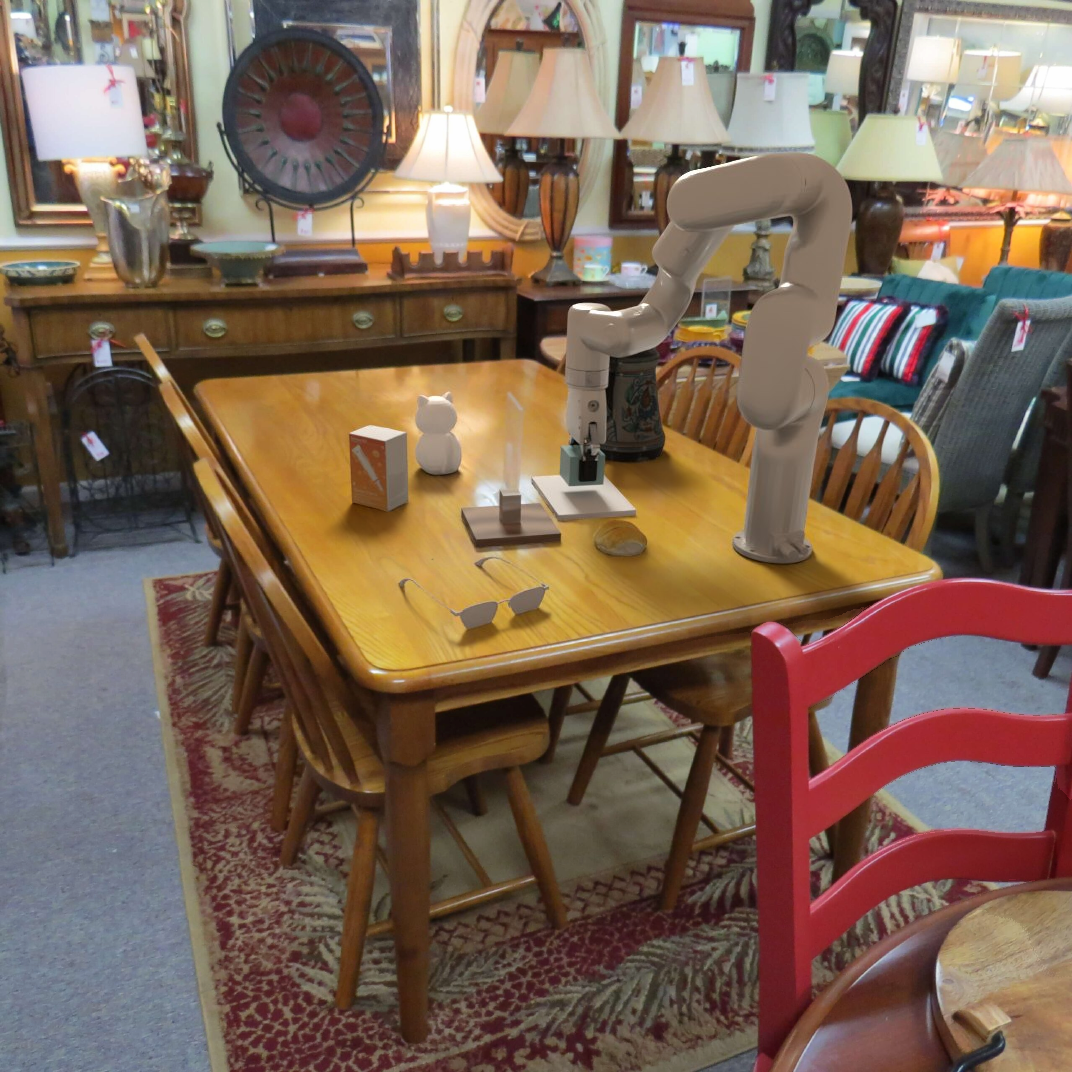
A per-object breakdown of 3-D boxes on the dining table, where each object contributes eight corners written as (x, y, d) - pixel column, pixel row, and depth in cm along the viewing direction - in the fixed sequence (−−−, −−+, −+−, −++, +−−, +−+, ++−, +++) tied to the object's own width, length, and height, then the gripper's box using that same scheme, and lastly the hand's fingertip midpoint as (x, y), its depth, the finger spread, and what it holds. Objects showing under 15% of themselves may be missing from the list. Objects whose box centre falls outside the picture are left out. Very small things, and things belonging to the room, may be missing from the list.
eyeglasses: (456, 637, 130) (456, 610, 129) (392, 587, 144) (391, 562, 142) (549, 608, 139) (550, 583, 137) (481, 563, 152) (481, 540, 151)
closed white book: (635, 515, 171) (636, 509, 171) (558, 520, 168) (558, 515, 168) (601, 477, 189) (602, 472, 189) (531, 481, 186) (531, 476, 186)
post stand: (560, 541, 160) (562, 504, 157) (476, 548, 157) (476, 510, 154) (540, 510, 172) (541, 475, 170) (461, 516, 169) (461, 480, 167)
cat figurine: (449, 459, 198) (447, 386, 192) (475, 477, 187) (474, 400, 182) (407, 465, 194) (404, 390, 188) (431, 484, 183) (429, 405, 178)
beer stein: (669, 443, 211) (679, 327, 201) (654, 472, 193) (664, 345, 184) (594, 436, 215) (600, 321, 205) (573, 462, 197) (578, 338, 188)
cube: (603, 484, 175) (605, 455, 173) (568, 486, 174) (570, 456, 172) (593, 472, 181) (594, 444, 179) (559, 474, 180) (560, 445, 177)
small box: (351, 503, 173) (347, 432, 168) (373, 493, 179) (370, 423, 173) (387, 512, 170) (385, 440, 165) (409, 501, 175) (407, 431, 170)
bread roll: (633, 534, 164) (635, 512, 163) (652, 555, 156) (654, 532, 155) (586, 537, 162) (587, 515, 161) (602, 559, 154) (604, 536, 153)
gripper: (623, 388, 163) (616, 489, 170) (593, 364, 179) (587, 458, 186) (579, 390, 162) (574, 492, 169) (553, 365, 177) (549, 460, 184)
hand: (581, 473), depth 177 cm, fingers closed on cube, 6 cm apart
